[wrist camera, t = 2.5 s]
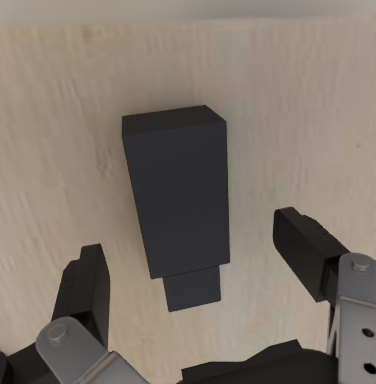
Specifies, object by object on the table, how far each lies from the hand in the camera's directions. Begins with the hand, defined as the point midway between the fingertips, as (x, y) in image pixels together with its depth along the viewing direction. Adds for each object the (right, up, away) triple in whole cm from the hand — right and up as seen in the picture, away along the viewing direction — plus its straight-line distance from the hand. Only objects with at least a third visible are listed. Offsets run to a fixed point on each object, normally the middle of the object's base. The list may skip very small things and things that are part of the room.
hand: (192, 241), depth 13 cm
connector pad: (-1, +2, +7) cm, 7 cm away
